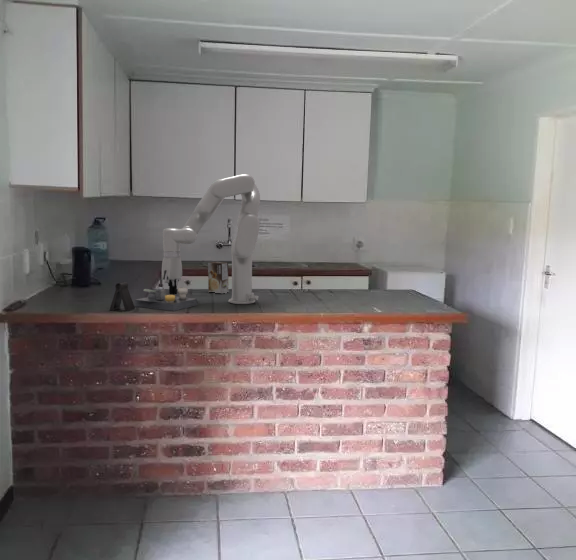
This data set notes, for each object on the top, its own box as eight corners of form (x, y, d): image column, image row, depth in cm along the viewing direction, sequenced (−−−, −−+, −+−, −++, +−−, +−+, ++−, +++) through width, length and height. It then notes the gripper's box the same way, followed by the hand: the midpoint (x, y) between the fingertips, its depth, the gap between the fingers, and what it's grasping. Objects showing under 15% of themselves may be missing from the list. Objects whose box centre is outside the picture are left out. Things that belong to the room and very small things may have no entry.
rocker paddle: (163, 295, 276) (164, 291, 276) (150, 294, 268) (151, 289, 268) (155, 294, 278) (156, 290, 279) (142, 293, 270) (143, 288, 271)
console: (196, 305, 273) (196, 295, 272) (173, 310, 258) (173, 301, 257) (159, 300, 283) (159, 291, 283) (134, 306, 268) (134, 296, 268)
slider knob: (165, 298, 269) (165, 287, 268) (161, 299, 266) (160, 288, 266) (160, 297, 270) (160, 287, 270) (155, 298, 268) (155, 287, 267)
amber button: (177, 306, 265) (177, 295, 264) (170, 308, 261) (170, 296, 260) (169, 305, 267) (169, 294, 266) (163, 307, 263) (162, 295, 262)
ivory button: (189, 299, 272) (189, 288, 272) (183, 300, 268) (183, 289, 268) (181, 298, 274) (181, 287, 274) (175, 299, 270) (175, 288, 270)
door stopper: (109, 310, 258) (108, 283, 256) (116, 307, 264) (115, 281, 262) (128, 311, 256) (128, 283, 254) (135, 308, 262) (134, 282, 260)
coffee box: (229, 292, 311) (229, 262, 308) (222, 294, 305) (222, 263, 303) (214, 291, 315) (214, 261, 313) (207, 292, 309) (207, 262, 307)
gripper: (175, 253, 281) (176, 291, 284) (154, 256, 268) (156, 296, 271) (188, 253, 278) (189, 292, 280) (168, 256, 265) (169, 297, 267)
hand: (173, 294), depth 276 cm, fingers closed
